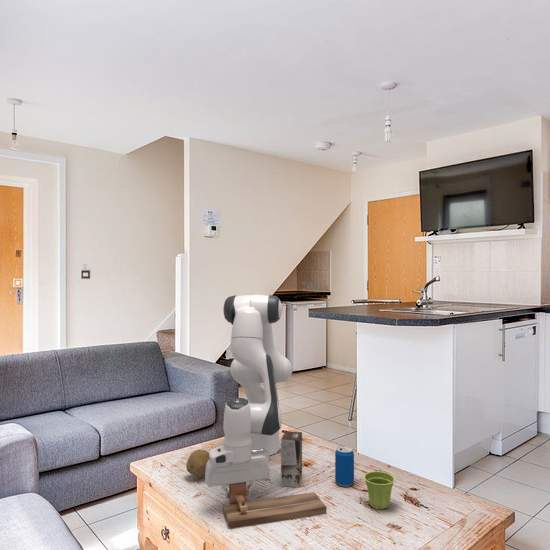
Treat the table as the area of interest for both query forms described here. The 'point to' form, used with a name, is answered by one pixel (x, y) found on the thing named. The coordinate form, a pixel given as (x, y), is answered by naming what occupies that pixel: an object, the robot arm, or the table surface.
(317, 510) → the plank
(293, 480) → the coffee box
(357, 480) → the table surface
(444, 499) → the table surface
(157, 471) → the table surface
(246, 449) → the robot arm
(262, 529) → the table surface
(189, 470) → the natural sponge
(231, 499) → the wooden chest hasp
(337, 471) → the beverage can
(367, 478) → the plant pot
